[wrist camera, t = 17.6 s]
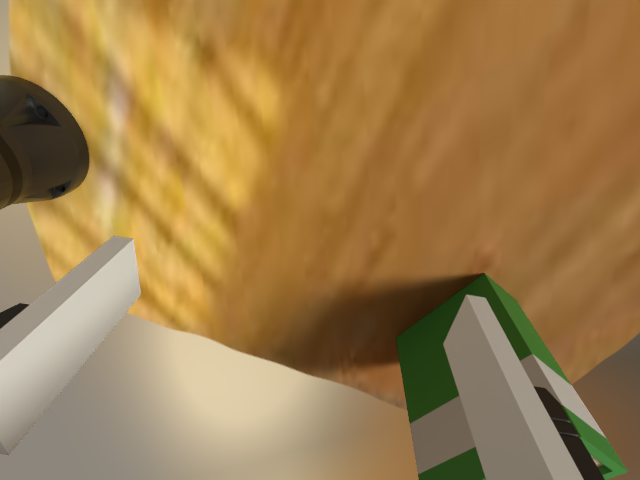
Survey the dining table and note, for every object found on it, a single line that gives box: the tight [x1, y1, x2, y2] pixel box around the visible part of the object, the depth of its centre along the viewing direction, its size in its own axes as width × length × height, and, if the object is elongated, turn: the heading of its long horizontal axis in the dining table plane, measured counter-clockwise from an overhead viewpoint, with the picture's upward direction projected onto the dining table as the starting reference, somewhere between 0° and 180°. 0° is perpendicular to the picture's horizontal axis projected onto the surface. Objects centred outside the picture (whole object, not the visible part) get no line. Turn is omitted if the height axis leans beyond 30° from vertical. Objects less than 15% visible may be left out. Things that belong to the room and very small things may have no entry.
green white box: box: [396, 273, 628, 480], centre depth 44 cm, size 18×7×24 cm, turn 141°
